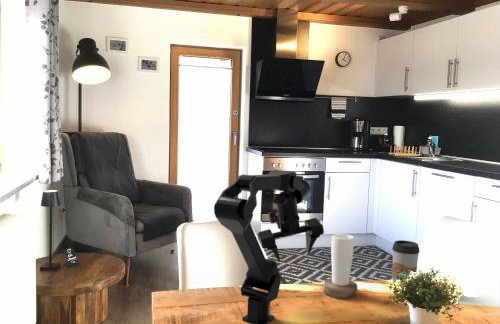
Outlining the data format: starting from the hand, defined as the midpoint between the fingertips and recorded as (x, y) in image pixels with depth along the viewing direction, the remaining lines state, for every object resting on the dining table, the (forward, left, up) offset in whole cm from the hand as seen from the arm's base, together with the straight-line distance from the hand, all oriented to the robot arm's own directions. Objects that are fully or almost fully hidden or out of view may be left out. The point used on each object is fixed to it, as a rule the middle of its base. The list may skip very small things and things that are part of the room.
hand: (293, 257), depth 136 cm
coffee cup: (+29, -25, -12) cm, 40 cm away
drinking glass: (+12, -10, -9) cm, 19 cm away
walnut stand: (+12, -11, -12) cm, 20 cm away
